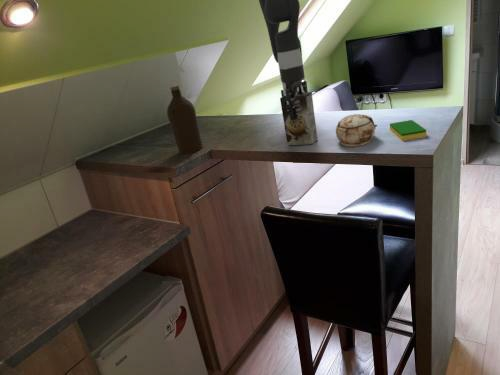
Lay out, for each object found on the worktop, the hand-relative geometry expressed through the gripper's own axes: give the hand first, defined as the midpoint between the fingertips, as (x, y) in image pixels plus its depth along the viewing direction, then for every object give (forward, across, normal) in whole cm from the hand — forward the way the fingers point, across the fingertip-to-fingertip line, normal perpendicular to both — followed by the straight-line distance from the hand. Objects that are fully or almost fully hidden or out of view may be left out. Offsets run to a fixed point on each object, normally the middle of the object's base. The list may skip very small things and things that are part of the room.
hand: (298, 116), depth 130 cm
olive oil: (+9, +6, -46) cm, 47 cm away
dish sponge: (+10, -8, +32) cm, 34 cm away
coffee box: (+9, 0, 0) cm, 9 cm away
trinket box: (+9, -2, +18) cm, 20 cm away
